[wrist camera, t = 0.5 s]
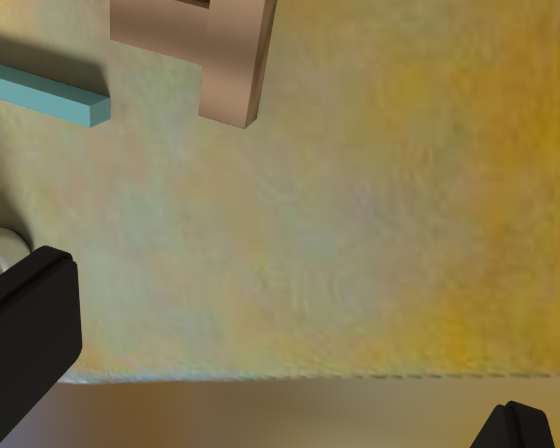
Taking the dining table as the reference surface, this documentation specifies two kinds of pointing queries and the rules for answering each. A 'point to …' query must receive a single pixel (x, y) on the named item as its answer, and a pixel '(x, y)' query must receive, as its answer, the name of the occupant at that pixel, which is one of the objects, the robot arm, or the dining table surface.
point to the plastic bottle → (11, 249)
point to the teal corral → (53, 97)
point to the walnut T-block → (206, 46)
